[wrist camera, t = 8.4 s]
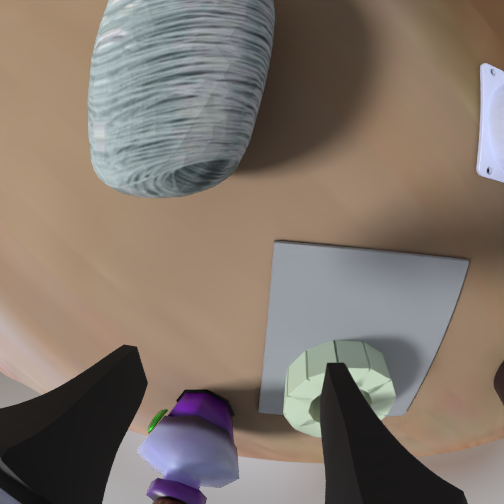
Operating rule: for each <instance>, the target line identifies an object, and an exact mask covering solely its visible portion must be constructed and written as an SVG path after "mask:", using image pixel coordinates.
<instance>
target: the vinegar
mask: <svg viewBox="0 0 504 504" xmlns="http://www.w3.org/2000/svg"><path fill="white" fill-rule="evenodd" d="M494 389H495V390H496V392H497V394H498V396H499V397H500V399H501V401H502V403H503V405H504V362H503V363H502V364H501V366H500V367H499V369H498V371H497V373H496V375H495V379H494Z"/></svg>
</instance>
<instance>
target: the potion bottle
mask: <svg viewBox="0 0 504 504" xmlns="http://www.w3.org/2000/svg"><path fill="white" fill-rule="evenodd" d="M176 401H177V404H176V405H175V407H174V408H173V409H172V411H171V412H170V413H169V415H168V416H164V415H165V413H166V412H167V411H168V410H167V409H165V410H161V411H160V412H159V413H157V415H156V416H155V417H154V418H153V420H152V421H151V423H150V425H149V427H148V430H147V432H148V433H150V432H151V431H152V429H153V428H154V427H155V426H156V424H157V423H158V422H159V421H160V419H161V418H162V417H163V416H164V417H163V419H162V420H161V421H160V422H159V423H158V425H157V426H156V427H155V428H154V429H153V431H152V432H151V433H150V434H149V436H148V437H147V438H146V439H145V441H144V442H143V443H142V444H141V446H140V447H139V448H138V450H137V452H138V453H139V455H140V456H141V457H142V458H143V459H144V460H145V461H146V462H147V463H148V465H149V466H150V467H151V468H152V469H153V470H155V471H157V472H159V473H161V474H163V475H164V477H163V479H160V478H157V479H155V480H154V481H152V482H151V484H150V487H149V489H148V492H147V496H149V497H150V498H151V499H152V500H153V504H205V503H206V500H207V498H206V497H205V496H204V495H203V494H202V493H201V491H200V490H199V488H200V486H204V487H205V486H206V487H216V488H221V487H223V486H225V485H227V484H229V483H231V482H233V481H235V480H237V479H239V469H238V456H237V448H236V446H235V444H234V439H233V424H232V417H233V416H234V413H233V410H232V408H231V406H230V404H229V401H228V400H226V399H224V398H222V397H220V396H218V395H216V394H214V393H212V392H210V391H208V390H184V392H183V393H182V394H181V395H180V397H179V398H178V399H177V400H176Z"/></svg>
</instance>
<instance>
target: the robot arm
mask: <svg viewBox="0 0 504 504" xmlns="http://www.w3.org/2000/svg"><path fill="white" fill-rule="evenodd" d="M491 71H492V72H493V75H492V74H491ZM480 81H481V112H480V133H479V147H478V157H477V166H476V170H477V173H478V174H479V175H480V176H483V177H486V178H490V179H493V180H497V181H500V182H503V183H504V71H502V70H500V69H498V68H495V67H493V66H491V65H489V64H487V63H484V64H481V66H480ZM487 168H489V173H487ZM147 384H148V382H147V379H146V376H145V372H144V369H143V366H142V363H141V359H140V356H139V352H138V349H137V347H135V346H129V345H123V346H121V347H119V348H118V349H116V350H115V351H113V352H112V353H110V354H109V355H108V356H106V357H105V358H103V359H102V360H100V361H99V362H97V363H96V364H95V365H93V366H92V367H90V368H89V369H87V370H86V371H84V372H83V373H81V374H79V375H78V376H76V377H75V378H73V379H71V380H70V381H68V382H67V383H65V384H63V385H61V386H60V387H58V388H56V389H54V390H52V391H50V392H48V393H46V394H43V395H41V396H39V397H36V398H34V399H31V400H28V401H25V402H23V403H20V404H16V405H13V406H9V407H5V408H0V504H102V501H103V497H104V492H105V488H106V484H107V481H108V477H109V474H110V470H111V467H112V464H113V461H114V458H115V455H116V453H117V450H118V448H119V446H120V444H121V442H122V440H123V438H124V436H125V434H126V432H127V430H128V428H129V426H130V424H131V422H132V420H133V418H134V416H135V414H136V413H137V411H138V409H139V407H140V404H141V402H142V399H143V396H144V394H145V390H146V387H147ZM320 428H321V436H322V445H323V454H324V464H325V476H326V492H325V494H326V495H325V504H468V503H467V500H466V498H465V495H464V492H463V491H462V490H460V489H458V488H457V487H455V486H453V485H452V484H450V483H448V482H446V481H445V480H443V479H442V478H440V477H439V476H437V475H436V474H435V473H433V472H432V471H431V470H429V469H428V468H427V467H426V466H424V465H423V464H422V463H421V462H420V461H419V460H417V459H416V458H415V457H414V456H413V455H412V454H410V453H409V452H408V451H407V450H406V449H405V448H404V447H403V446H402V445H401V444H400V443H399V442H398V440H397V439H396V438H395V437H394V436H393V435H392V434H391V433H390V431H389V430H388V429H387V428H386V427H385V425H384V424H383V423H382V421H381V420H380V419H379V418H378V416H377V415H376V414H375V412H374V411H373V409H372V408H371V406H370V405H369V403H368V402H367V400H366V399H365V397H364V396H363V394H362V393H361V391H360V389H359V388H358V386H357V384H356V383H355V381H354V379H353V377H352V375H351V374H350V372H349V370H348V368H347V366H346V364H345V363H344V362H339V363H327V365H326V371H325V376H324V382H323V387H322V392H321V397H320Z"/></svg>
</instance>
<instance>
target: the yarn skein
mask: <svg viewBox="0 0 504 504" xmlns="http://www.w3.org/2000/svg"><path fill="white" fill-rule="evenodd" d="M274 24H275V9H274V2H273V0H109V1H108V4H107V7H106V10H105V12H104V15H103V18H102V20H101V23H100V27H99V30H98V34H97V37H96V41H95V46H94V51H93V55H92V60H91V70H90V82H89V93H88V132H89V143H90V149H91V162H92V165H93V168H94V170H95V172H96V174H97V176H98V177H99V178H100V179H101V180H102V181H103V182H104V183H106V184H107V185H108V186H110V187H112V188H113V189H115V190H116V191H118V192H121V193H124V194H128V195H133V196H138V197H146V198H170V197H182V196H187V195H191V194H194V193H198V192H201V191H204V190H207V189H209V188H212V187H214V186H216V185H218V184H219V183H221V182H222V181H224V180H225V179H226V178H228V177H229V176H230V175H231V174H232V173H233V172H234V171H235V170H236V168H237V166H238V164H239V162H240V161H241V159H242V157H243V155H244V153H245V151H246V149H247V147H248V145H249V142H250V140H251V136H252V132H253V129H254V125H255V121H256V118H257V114H258V110H259V107H260V103H261V99H262V95H263V92H264V88H265V84H266V79H267V74H268V69H269V64H270V59H271V53H272V46H273V37H274Z"/></svg>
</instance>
